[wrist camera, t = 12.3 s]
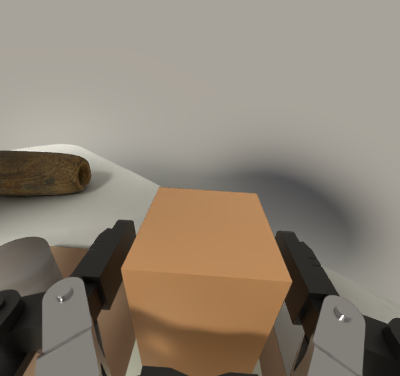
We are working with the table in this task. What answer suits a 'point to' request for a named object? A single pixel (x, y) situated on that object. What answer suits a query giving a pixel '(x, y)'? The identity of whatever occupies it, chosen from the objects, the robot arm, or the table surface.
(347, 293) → the table surface
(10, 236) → the table surface
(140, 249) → the tall wooden pillar
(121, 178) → the table surface
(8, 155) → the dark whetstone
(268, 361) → the board
